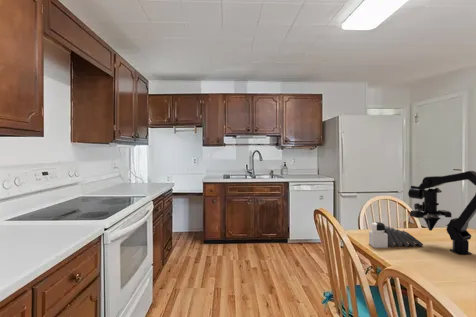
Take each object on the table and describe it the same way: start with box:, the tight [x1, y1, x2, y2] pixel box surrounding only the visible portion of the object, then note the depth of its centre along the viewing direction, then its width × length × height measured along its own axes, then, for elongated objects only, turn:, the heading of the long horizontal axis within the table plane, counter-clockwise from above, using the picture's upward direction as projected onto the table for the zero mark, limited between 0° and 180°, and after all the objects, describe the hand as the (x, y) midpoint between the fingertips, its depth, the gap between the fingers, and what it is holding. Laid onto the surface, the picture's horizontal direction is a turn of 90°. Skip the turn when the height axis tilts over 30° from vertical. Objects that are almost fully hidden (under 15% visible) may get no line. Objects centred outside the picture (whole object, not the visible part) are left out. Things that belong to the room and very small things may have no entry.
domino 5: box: [401, 230, 424, 248], centre depth 164 cm, size 5×2×10 cm
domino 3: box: [391, 227, 410, 248], centre depth 163 cm, size 5×2×10 cm
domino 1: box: [384, 225, 395, 248], centre depth 163 cm, size 5×2×10 cm, turn 179°
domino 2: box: [388, 226, 403, 248], centre depth 163 cm, size 5×2×10 cm, turn 179°
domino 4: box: [396, 228, 417, 247], centre depth 164 cm, size 5×2×10 cm
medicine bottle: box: [368, 221, 389, 249], centre depth 163 cm, size 7×7×12 cm
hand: (430, 230), depth 164 cm, fingers closed
